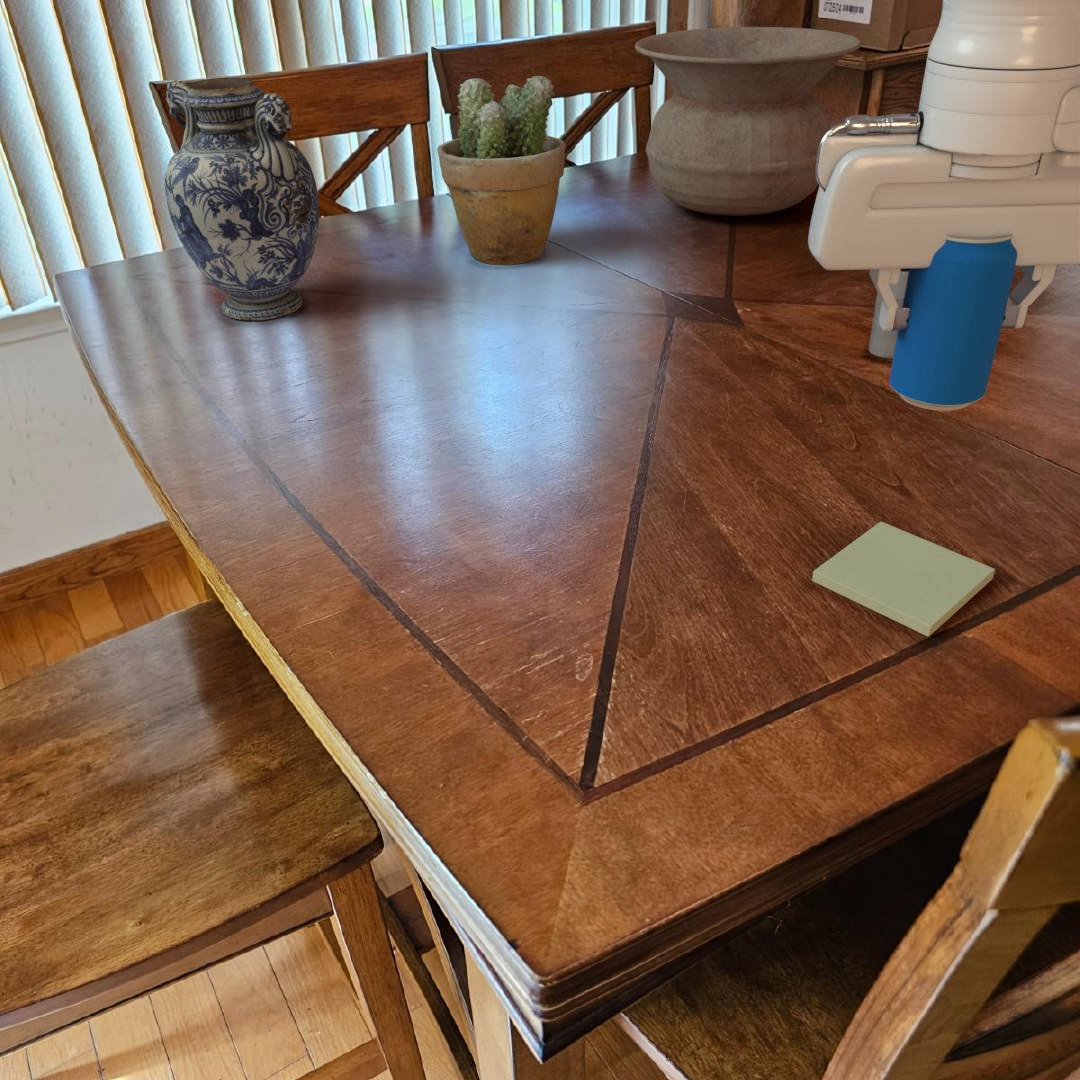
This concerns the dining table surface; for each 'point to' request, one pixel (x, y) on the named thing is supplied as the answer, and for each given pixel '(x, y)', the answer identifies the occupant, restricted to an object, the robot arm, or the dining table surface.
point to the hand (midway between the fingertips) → (949, 327)
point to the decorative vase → (242, 195)
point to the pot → (740, 115)
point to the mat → (904, 577)
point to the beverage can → (953, 323)
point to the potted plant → (504, 170)
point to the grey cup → (879, 339)
